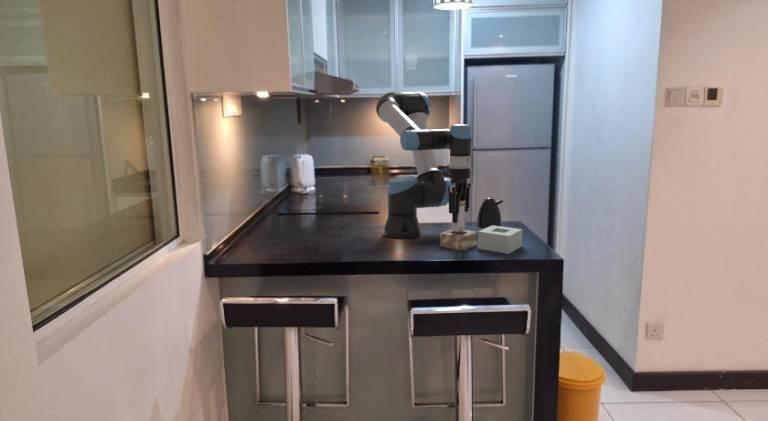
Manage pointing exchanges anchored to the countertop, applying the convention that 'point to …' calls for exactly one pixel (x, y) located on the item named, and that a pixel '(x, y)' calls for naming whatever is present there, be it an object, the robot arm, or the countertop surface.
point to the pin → (461, 217)
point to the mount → (458, 239)
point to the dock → (500, 239)
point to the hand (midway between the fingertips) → (458, 229)
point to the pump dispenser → (489, 214)
